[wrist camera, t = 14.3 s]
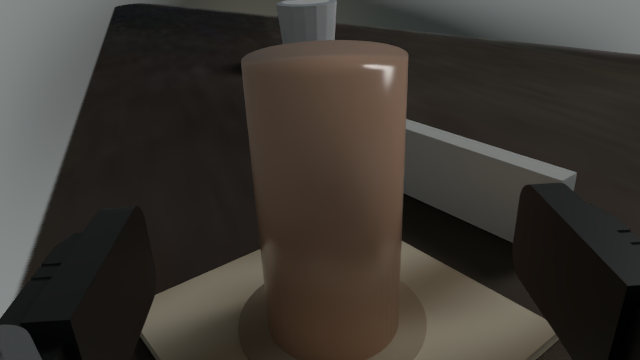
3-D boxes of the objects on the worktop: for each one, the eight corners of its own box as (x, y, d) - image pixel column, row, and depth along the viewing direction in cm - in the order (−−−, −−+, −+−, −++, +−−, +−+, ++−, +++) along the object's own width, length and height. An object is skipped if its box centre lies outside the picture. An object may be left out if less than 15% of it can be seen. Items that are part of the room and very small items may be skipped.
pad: (559, 339, 19) (562, 326, 19) (299, 566, 13) (297, 552, 12) (347, 219, 28) (347, 209, 28) (127, 318, 21) (124, 306, 21)
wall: (562, 249, 24) (577, 172, 23) (548, 259, 24) (562, 180, 22) (382, 171, 33) (383, 111, 31) (368, 177, 32) (368, 116, 31)
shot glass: (269, 67, 60) (264, 4, 57) (297, 55, 66) (293, -3, 63) (323, 71, 57) (320, 5, 54) (347, 58, 63) (346, -3, 60)
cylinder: (426, 321, 20) (443, 54, 15) (323, 390, 17) (308, 88, 12) (340, 263, 23) (334, 34, 19) (243, 312, 20) (210, 57, 16)
